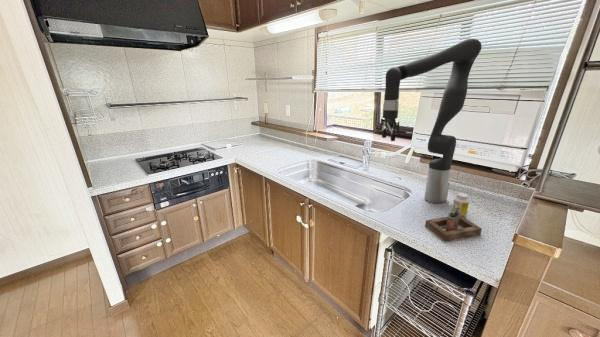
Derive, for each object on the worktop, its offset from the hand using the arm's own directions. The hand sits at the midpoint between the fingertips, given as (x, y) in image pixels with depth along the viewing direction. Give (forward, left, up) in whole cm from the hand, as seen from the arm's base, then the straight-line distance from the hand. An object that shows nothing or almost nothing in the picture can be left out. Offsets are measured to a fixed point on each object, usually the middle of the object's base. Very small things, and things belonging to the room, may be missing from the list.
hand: (388, 139), depth 132 cm
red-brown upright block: (-2, +47, -28) cm, 55 cm away
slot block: (-2, +47, -28) cm, 55 cm away
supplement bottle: (-14, +38, -28) cm, 49 cm away
